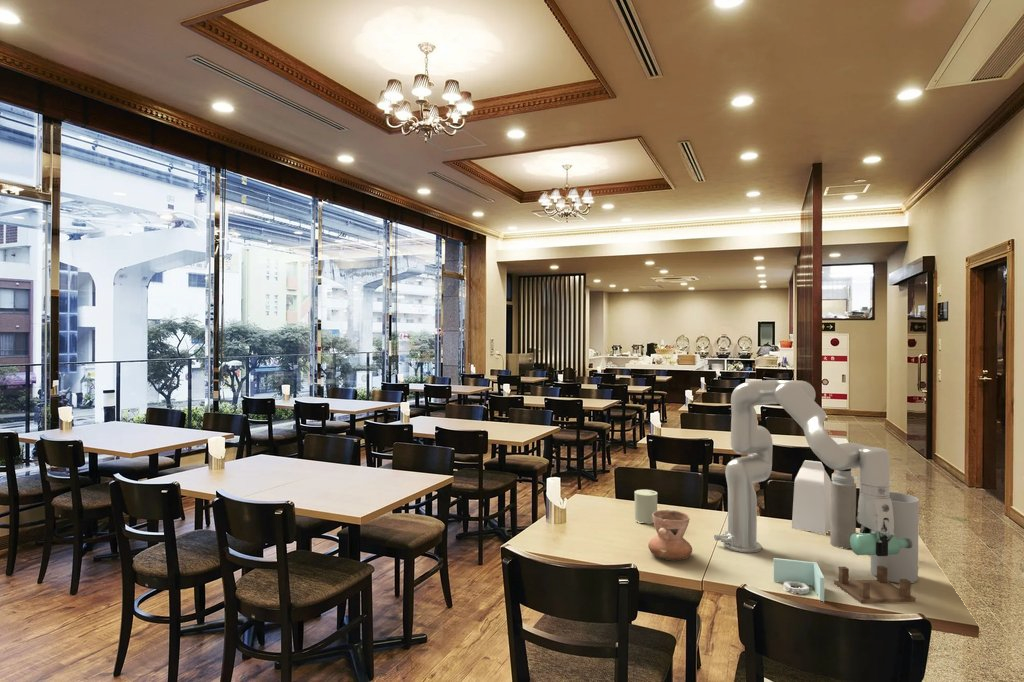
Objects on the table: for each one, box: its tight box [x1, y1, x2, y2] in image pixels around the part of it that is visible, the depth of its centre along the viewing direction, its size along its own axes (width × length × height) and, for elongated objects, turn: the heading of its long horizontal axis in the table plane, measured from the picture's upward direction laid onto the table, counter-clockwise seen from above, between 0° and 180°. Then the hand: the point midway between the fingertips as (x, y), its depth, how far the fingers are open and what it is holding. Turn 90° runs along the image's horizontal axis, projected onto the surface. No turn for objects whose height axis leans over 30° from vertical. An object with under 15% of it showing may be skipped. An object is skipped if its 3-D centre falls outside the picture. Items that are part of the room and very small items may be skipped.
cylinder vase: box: [870, 491, 920, 584], centre depth 188 cm, size 12×12×25 cm
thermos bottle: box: [829, 468, 857, 549], centre depth 216 cm, size 8×8×28 cm
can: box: [633, 489, 658, 523], centre depth 244 cm, size 9×9×12 cm
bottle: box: [850, 533, 912, 556], centre depth 176 cm, size 16×6×6 cm, turn 93°
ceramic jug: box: [647, 509, 693, 561], centre depth 206 cm, size 18×14×14 cm
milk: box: [791, 459, 832, 535], centre depth 235 cm, size 12×12×26 cm
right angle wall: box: [772, 557, 825, 603], centre depth 178 cm, size 12×12×8 cm
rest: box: [833, 566, 917, 604], centre depth 177 cm, size 16×13×6 cm
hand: (874, 551), depth 176 cm, fingers closed on bottle, 6 cm apart
